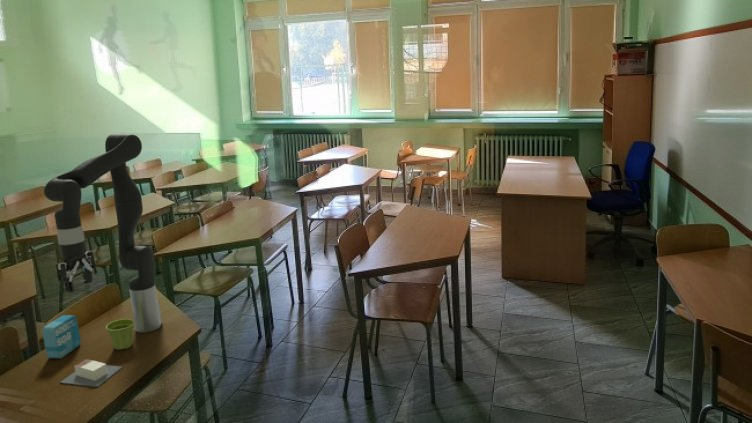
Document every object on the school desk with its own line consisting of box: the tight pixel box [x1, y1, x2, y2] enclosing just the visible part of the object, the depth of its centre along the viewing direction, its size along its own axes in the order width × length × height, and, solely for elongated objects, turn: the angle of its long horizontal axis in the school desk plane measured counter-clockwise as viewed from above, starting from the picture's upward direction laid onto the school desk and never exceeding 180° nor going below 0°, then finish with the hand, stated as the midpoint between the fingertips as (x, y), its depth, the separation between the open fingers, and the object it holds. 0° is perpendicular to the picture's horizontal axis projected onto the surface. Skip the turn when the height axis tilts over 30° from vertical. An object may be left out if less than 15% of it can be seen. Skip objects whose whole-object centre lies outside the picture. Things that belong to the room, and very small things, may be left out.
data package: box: [41, 314, 82, 359], centre depth 199 cm, size 12×4×12 cm, turn 170°
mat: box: [59, 364, 123, 388], centre depth 183 cm, size 12×14×1 cm
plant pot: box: [105, 318, 135, 350], centre depth 201 cm, size 9×9×9 cm
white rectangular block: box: [73, 358, 108, 381], centre depth 182 cm, size 9×5×4 cm, turn 65°
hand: (80, 287), depth 184 cm, fingers open, 8 cm apart
